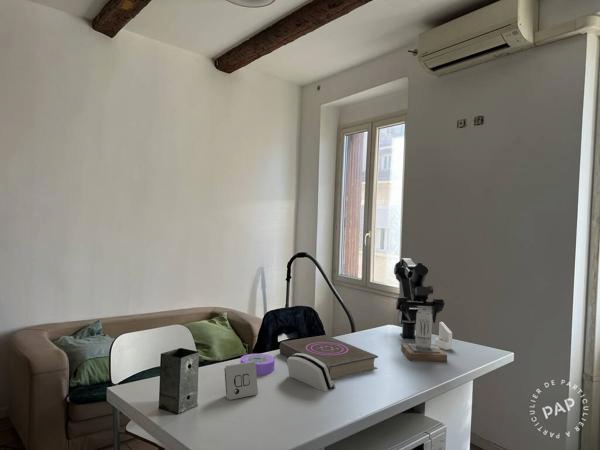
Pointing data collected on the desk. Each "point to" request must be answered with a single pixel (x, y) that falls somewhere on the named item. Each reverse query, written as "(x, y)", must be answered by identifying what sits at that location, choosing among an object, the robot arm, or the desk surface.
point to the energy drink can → (423, 328)
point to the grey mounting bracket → (309, 371)
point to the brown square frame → (423, 353)
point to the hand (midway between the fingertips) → (422, 322)
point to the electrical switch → (241, 380)
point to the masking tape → (260, 362)
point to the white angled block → (444, 337)
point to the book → (331, 354)
